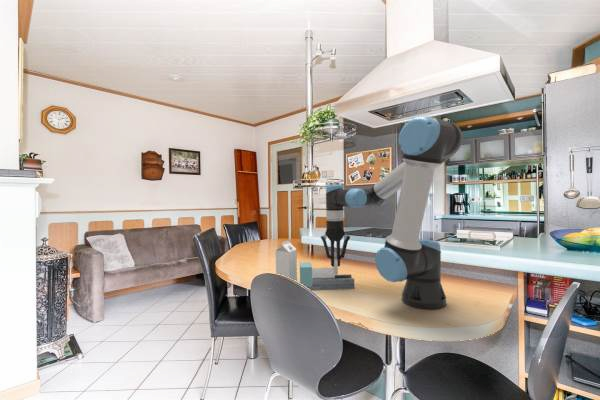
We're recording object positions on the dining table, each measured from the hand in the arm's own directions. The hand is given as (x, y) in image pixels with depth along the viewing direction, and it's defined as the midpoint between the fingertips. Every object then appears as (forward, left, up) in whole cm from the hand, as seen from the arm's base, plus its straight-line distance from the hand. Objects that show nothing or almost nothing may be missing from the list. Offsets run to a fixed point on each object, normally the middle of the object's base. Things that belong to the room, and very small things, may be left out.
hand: (335, 273), depth 131 cm
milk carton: (+7, +22, -6) cm, 23 cm away
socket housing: (0, +13, -4) cm, 14 cm away
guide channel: (0, +4, -5) cm, 7 cm away
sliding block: (0, +7, -4) cm, 8 cm away
